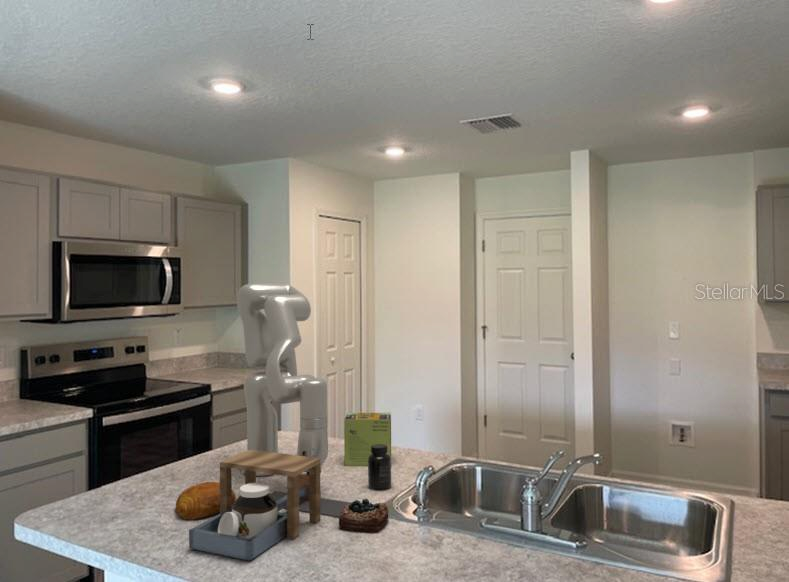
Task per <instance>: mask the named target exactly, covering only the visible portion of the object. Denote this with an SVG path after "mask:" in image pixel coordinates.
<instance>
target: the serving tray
mask: <svg viewBox="0 0 789 582" xmlns="http://www.w3.org/2000/svg"><path fill="white" fill-rule="evenodd" d="M300 498H302V499H309V474H306V472H303V473H301V474H299V499H300ZM276 503H277V521H276V522H274V523H273V524H271V525H270V526H268V527H267V528H265V529H263V530H262V531H260V532H259V533H257V534H256V535H254V536H252V537H251V538H249V539H247V538H242V537H237V536H232V535H226V534H221V533H218V525H219V522H220V519H221V517H222V516H223V515H224V514H225V513H226V512H232V507H233V506H232V507H231V508H230V509H228V510H226V511H224V512H222V513H220V512H219V514H218V513H217V515H215V516H213V517H211V518H209V519H208V520H207V519H206V520H205V521H203V522H202V523H200V524H198V525H196V526H193V528H192V527H191V528H190V529H189V530H188V548H189V549H192V550H198V551H201V552H206V553H212V554H216V555H221V556H225V557H229V558H230V557H231V558H236V559H240V560H245V561H252V560H253V559H254V558H257V557H258V556H259V555H261V554H262V553H263V552H265V551H266V550H268V549H269V548H271V547H272V546H273V545H275V544H276V543H278V542H279V541H281V540H282V539H284V538H285V537H287V513H285V512H281V511H282V510H283V508H285V507H287V495H286V496H284V497H283V498H281V499H279V500H277V501H276Z"/></svg>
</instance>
